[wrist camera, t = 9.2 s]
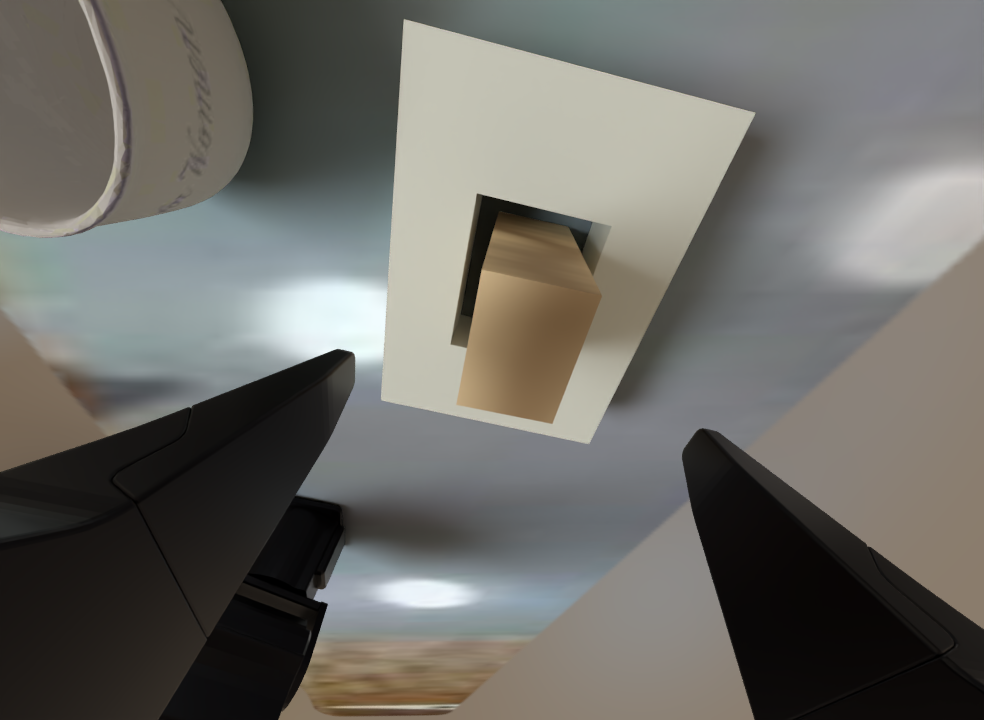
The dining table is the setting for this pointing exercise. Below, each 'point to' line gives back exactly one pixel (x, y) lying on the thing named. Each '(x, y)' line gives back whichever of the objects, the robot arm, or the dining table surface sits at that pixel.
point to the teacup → (116, 110)
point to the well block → (538, 204)
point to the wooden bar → (527, 320)
